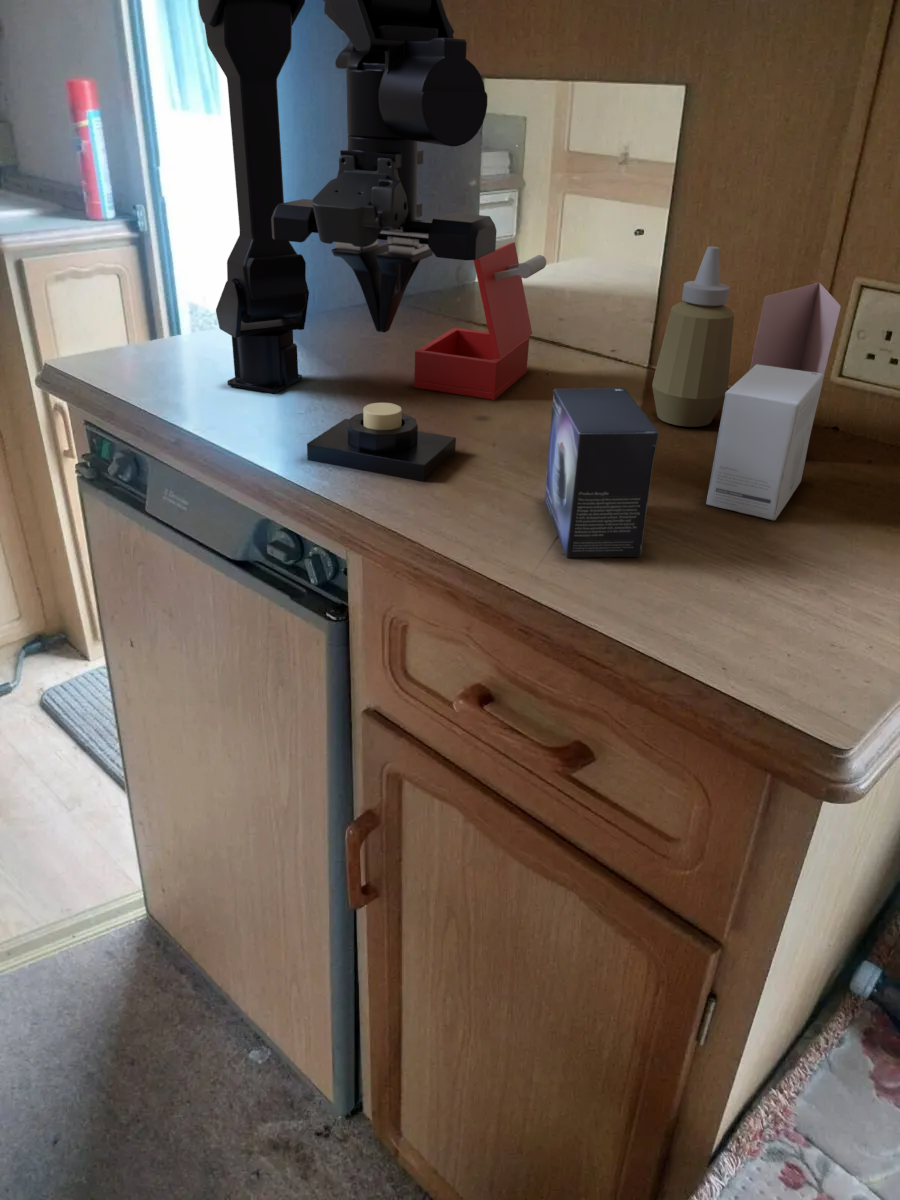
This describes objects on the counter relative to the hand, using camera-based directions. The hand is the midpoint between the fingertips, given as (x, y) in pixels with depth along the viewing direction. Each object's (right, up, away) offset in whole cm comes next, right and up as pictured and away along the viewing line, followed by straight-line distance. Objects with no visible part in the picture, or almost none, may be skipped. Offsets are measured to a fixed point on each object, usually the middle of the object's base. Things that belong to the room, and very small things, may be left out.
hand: (382, 331), depth 82 cm
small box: (+17, -18, -6) cm, 26 cm away
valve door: (+12, +10, +23) cm, 28 cm away
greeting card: (+41, -8, +14) cm, 44 cm away
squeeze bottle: (+32, -4, +19) cm, 37 cm away
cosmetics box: (+34, -15, +2) cm, 37 cm away
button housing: (0, -10, +6) cm, 12 cm away
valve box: (+9, +3, +29) cm, 30 cm away
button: (0, -8, +4) cm, 9 cm away
